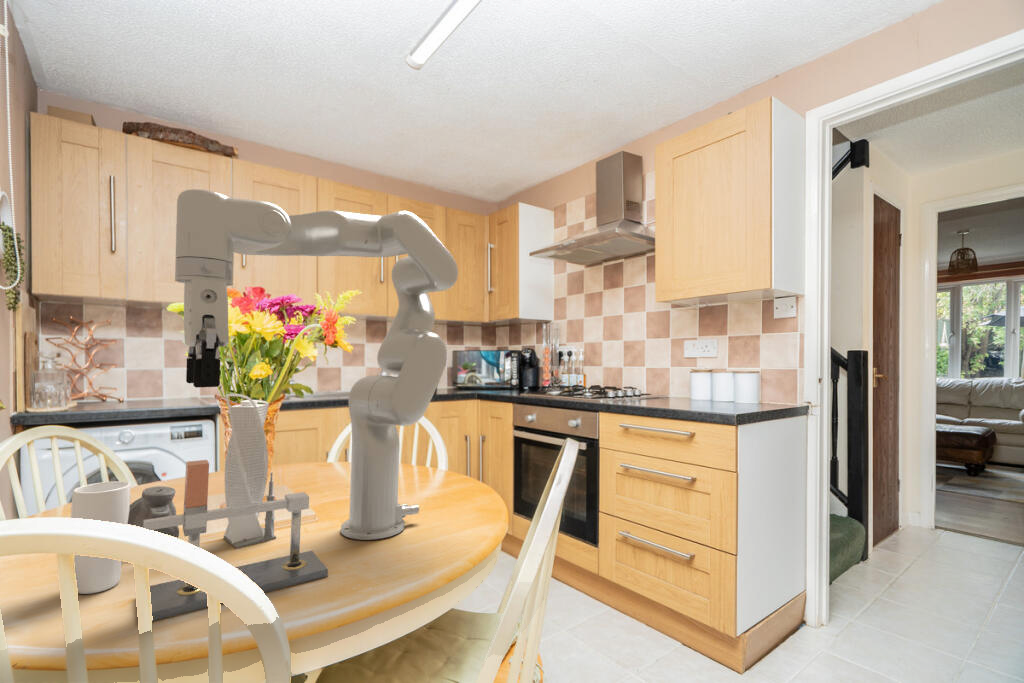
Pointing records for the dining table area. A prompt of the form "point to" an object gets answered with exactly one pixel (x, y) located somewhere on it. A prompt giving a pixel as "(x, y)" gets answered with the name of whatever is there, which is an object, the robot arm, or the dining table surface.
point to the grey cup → (106, 506)
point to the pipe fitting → (154, 508)
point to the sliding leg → (196, 500)
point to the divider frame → (290, 502)
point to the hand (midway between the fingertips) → (202, 384)
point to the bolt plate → (265, 573)
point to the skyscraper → (247, 472)
